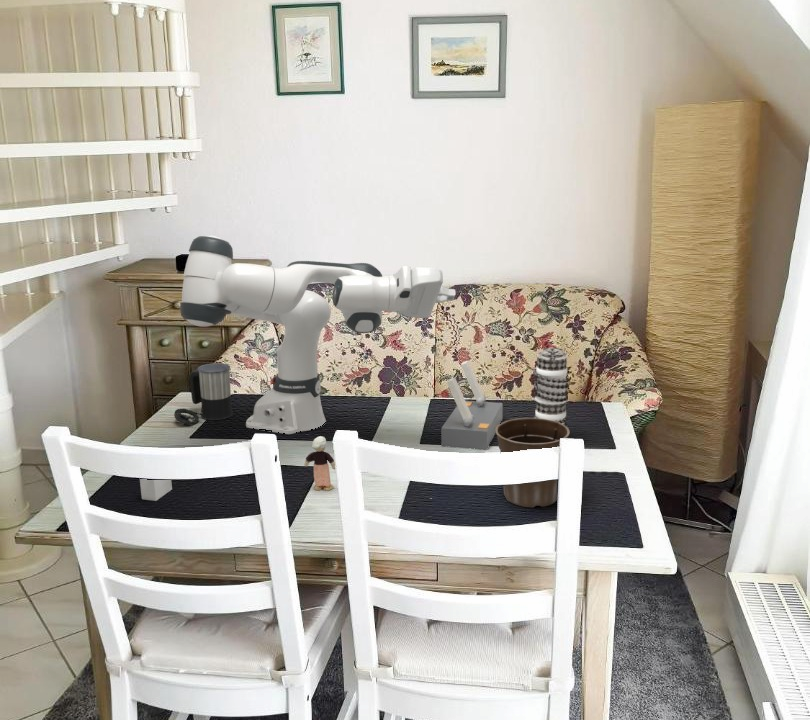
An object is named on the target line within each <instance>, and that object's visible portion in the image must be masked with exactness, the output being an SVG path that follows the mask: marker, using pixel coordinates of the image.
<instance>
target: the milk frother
mask: <svg viewBox="0 0 810 720" xmlns="http://www.w3.org/2000/svg"><path fill="white" fill-rule="evenodd" d="M230 368H231V366H230V365H229V364H226V363H218V362H217V363H216V362H215V363H214V362H213V363H206V364H203V365H200V366H198V367H197V369H194V370H192V371H191V372H190V373H189V386H190V394H191V401H192V403H193V404H194V405H197V404H200V403H201V408H200V410H201V411H200V413H199V412H197V411H194V410H191V409H188V408H177V409H175V410H174V413H173V414H174V415H173V416H174V418H175V420H176V421H177V422H179V423H180V424H183V425H185V426H186V425H195V424H197V423H199V421H200V417H201V418H202V419H204V420H206V421H207V420H208V421H221V420H226V419H229V418H230V417H231V418H232V416H233V415H234V412H233V406H232V395H231V394H232V393H231V377H230ZM186 414H188V415H186ZM199 415H201V416H200V417H199ZM191 416H192V417H193V418H194V419H191Z"/></svg>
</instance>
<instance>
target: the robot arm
mask: <svg viewBox="0 0 810 720" xmlns="http://www.w3.org/2000/svg"><path fill="white" fill-rule="evenodd" d="M188 251H189V254H188V257H187V259H186V263H185V268H184V272H183V276H182V277H183V282H182V288H181V291H182V292H181V302H180V303H179V304H180V305H179V307H180V310H179V311H180V317H181V318H183V320H185V321H187V322H188V323H190V324H191V325H194V326H196V327H197V326H198V327H211V326H216V325H217V324H219V323H221V322H222V321H223V320H224V319H225V317H226V316H227V315H236V316H239V317H240V316H241V317H244V318H247V319H252V320H259V321H264V322H269V323H274V324H278V325H280V326H284V335H283V340H282V343H281V344H279V345H278V347H277V348H276V349H277V350H276V358H277V362H276V363H277V373H276V374H275V376H274V377H272V378H271V380H270V381H269V382H270V383H269V384H270V385H271V386H273V387H272V388H271V389H270V390H269V391H267V392H266V393H265V394H264V395H263V396H262V397H260V398H259V399H258V400H257V401H256V402H255V404H254V408H253V414H252V415H250V417H248V418H247V419H246V422H245V426H246V428H248V429H253V428H254V429H255V430H259V429H266V430H272V432H271V433H278V432H279V433H278V434H283V433H285V434H284V435H294V434H297V433H300V431H301V432H307V431H311V429H313V430H315V428H316V429H319V428H321V427H323V426H324V425H325V424H326V423H327V420H326V417H325V414H324V410H323V407H322V403H321V402H322V401H321V395H320V394H321V381H320V380H321V377H320V374H319V370H318V346H319V345H318V344H319V340H320V336H321V333H322V330H323V329H324V328H325V327H327V325H328V324H329V321H330V319H331V313H332V310H331V309H332V308H331V306H330V303H329V302H328V300H327V299H326V298H325V297H323V296H322V295H320V294H318V293H317V292H315V291H312V290H307V288H308V286H309V284H312V283H322V284H333V289H332V290H333V291H332V303H333V306H334V308H335V309H337V310H340V312H341V313H342V316H343V319H344V321H345V326H346V327H348V329H350V330H351V331H353V332H354V333H358V334H369V333H373V332H374V331H376V330H378V328H379V327H380V326H381V325H382V320H383V312H384V311H385V312H394V313H395V312H397V313H398V314H400V315H403V316H404V317H408V318H416V319H417V318H418V319H428V318H430V317H431V315H432V312H433V310H434V308H435V307H434V306H435V305H436V304H441V303H445V302H447V301H449V302H453V301H454V299H455V296H456V289H454V288H448V287H445V286H443V283H444V276H443V270H441V269H439V268H437V267H422V266H421V267H413V268H412V269H411V266H409V265H408V266H407V265H403V266H401V267H400V268H399V269H398V270H397V271H396V272H394V273H393V275H383V274H382V273H381V271H380V270H379V269H378V268H376V266H374V265H372V264H370V263H366V262H356V263H354V262H353V263H343V262H342V263H341V262H340V263H339V262H326V261H315V260H314V261H313V260H311V261H310V260H299V261H298V260H297V261H296V260H295V261H293V262H290V263H289V264H288V265H287V266H286V267H272V266H268V265H265V264H264V265H262V264H255V263H248V262H247V263H244V262H243V263H242V262H241V263H240V262H237V263H232V261H233V260H234V251H233V247H232V246H231V244H230V242H228V241H227V240H225V239H223V238H221V237H219V236H218V235H217V236H216V235H210V234H209V235H202V236H201V235H200V236H197V237H196V238H194V239H192V242H191V243H190V246H189V249H188ZM325 422H326V423H325ZM324 423H325V424H324ZM323 424H324V425H323ZM322 425H323V426H322ZM320 426H321V427H320ZM318 427H319V428H318ZM254 429H253V430H254ZM296 432H297V433H296Z"/></svg>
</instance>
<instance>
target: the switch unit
mask: <svg viewBox="0 0 810 720" xmlns="http://www.w3.org/2000/svg"><path fill="white" fill-rule="evenodd" d="M465 401H466V403H467V406H468V408H469V410H470V412H471V414H472V415H473V416H474V419H473V421H472V423H471V424H470V425H469V426H466V425H464V423H463V421H464V420H463V418H462V415H461V413H460V411H459V409H458V406H457V405H456V406H455V408H454V409H453V411H452V413H450V415H449V416H448V418H447V419H446V421H445V422H444V424H443V425H442V427H441V428H440V429H441V430H440V431H441V435H440V437H441V438H440V439H441V441H440V442H441V447H445V446H450V447H449V448H457V447H458V448H459V449H469V448H471V450H481V449H487V448H488V449H489V447H488V446H490V445H491V443H492V441H493V439H494V436H495V435H496V433H495V429H496V427H497V426H498V425H499V424H500V423H502V422H503V415H504V414H503V411H504V409H503V406H504V404H503V402H494V401H493V402H491V401H490V402H489V401H484V403H483V405H481V406H479V405H477V404H476V401H475V400H465ZM501 421H502V422H501ZM490 442H491V443H490ZM489 444H490V445H489ZM474 448H475V449H474ZM488 449H487V450H488Z"/></svg>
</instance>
